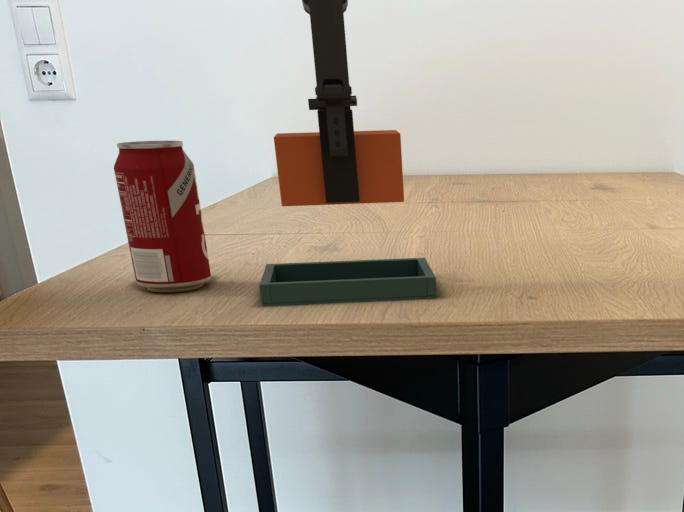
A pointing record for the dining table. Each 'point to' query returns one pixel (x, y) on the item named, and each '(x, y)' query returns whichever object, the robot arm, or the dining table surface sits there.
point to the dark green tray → (347, 281)
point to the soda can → (162, 216)
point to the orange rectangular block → (307, 170)
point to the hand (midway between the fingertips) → (342, 196)
